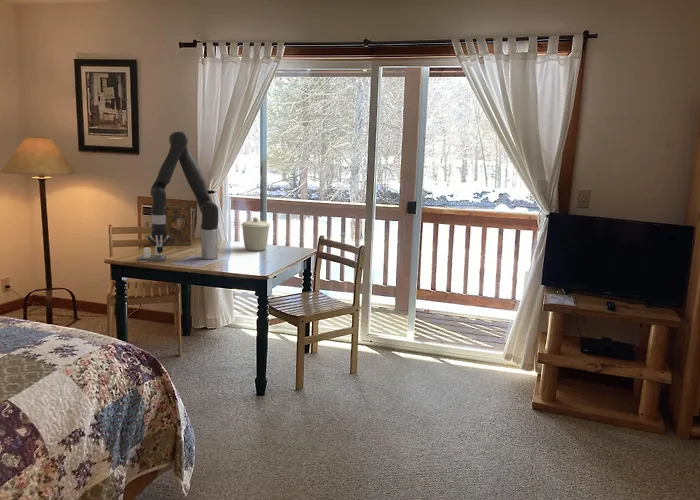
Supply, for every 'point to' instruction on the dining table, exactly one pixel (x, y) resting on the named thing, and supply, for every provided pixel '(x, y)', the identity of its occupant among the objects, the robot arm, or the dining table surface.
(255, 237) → the canister
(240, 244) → the dining table surface
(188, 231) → the book
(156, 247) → the tab
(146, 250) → the tab
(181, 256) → the dining table surface
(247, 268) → the dining table surface
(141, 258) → the switch board
